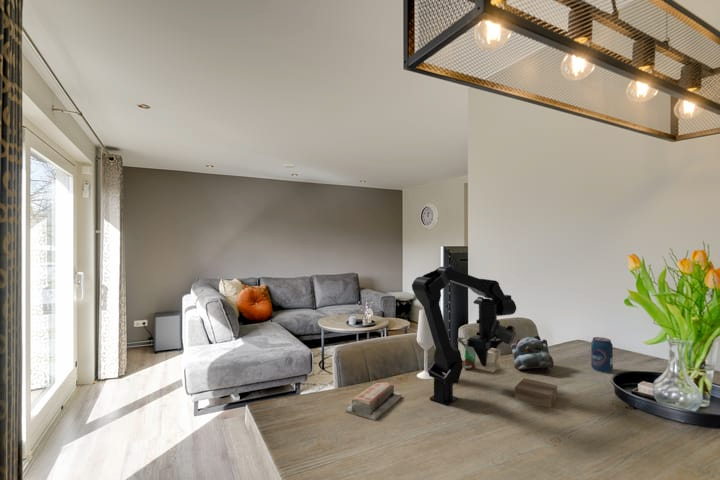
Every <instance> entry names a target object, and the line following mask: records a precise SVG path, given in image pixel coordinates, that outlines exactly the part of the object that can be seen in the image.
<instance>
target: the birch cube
mask: <svg viewBox="0 0 720 480" xmlns="http://www.w3.org/2000/svg"><path fill="white" fill-rule="evenodd" d="M500 368H501V349H499V348H497V349H495V348H491V349H490V350H489V351H488V355H487V362H486V366H485V367H484V366H482V364H481V362H480V360H479V358H478V356H477V354H476V352H475V369H478V370H481V371H485V372H486V371H487V372H490V373H494V372H496V371H498V370H499V369H500Z"/></svg>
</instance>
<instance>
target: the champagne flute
mask: <svg viewBox="0 0 720 480" xmlns="http://www.w3.org/2000/svg"><path fill="white" fill-rule="evenodd" d="M418 312H419V313H418V321H417V332H416V343H418V345H419V347H421V349H423V350H424V351H423V352H424V354H423V355H424V358H423V359H424V362H423V365H424V367H423V368H424V370H423V371H420V372H419V373H418V374H416V377H417V378H418V379H421V380H434V378H433V377H430V376H429V373H428V370H429V368H428V365H429V364H428V357H429V356H428V353H429V352H428V350H430V349H431V348H432V347H433V346H435V344H434V341H433V338H432V334H431V331H430V327H429V324H428V321H427V317H426V314H425V311H424V309H419V311H418Z"/></svg>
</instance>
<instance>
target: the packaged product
mask: <svg viewBox="0 0 720 480" xmlns="http://www.w3.org/2000/svg"><path fill="white" fill-rule="evenodd" d="M394 389H395V385H394V384H392V383H390V382H387V381H386V382H376V383H374V384H372V385H371V386H370V387H368V388H367V389H365V390H364V391H362V392H360V393H359V394H358V395H356V396H355V397H353V398H352V399H351V405H349V406H348V407H347V408H346V409H345V410H344V411H345V413H347V414H352V415H354V416H357V417H358V416H359V417H362V418H365V419H370V420H373V421H375V420H377V419H378V418H380V416H382V415H383V414H385V412H387V410H389V409H390V408H391V407H392V406H394V405H395V404H396V403H397V402H398V401H399V400H400V399H401V398H402V395H403V394H402V393H401V392H396V391H395V390H394Z"/></svg>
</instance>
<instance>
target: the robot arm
mask: <svg viewBox="0 0 720 480" xmlns="http://www.w3.org/2000/svg"><path fill="white" fill-rule="evenodd" d="M449 282H451V283H453V284H456V285H459V286H462V287H465V288H468V289H470V290H471V292H473V293H475V295H478V296H477V298H476V299H474V301H473V304H474V305H478V319H476V324H478V331H476V335H472V336H470V337H469V339H468V340H467V346H469V347H473V349H474V350H475V352H476V354H477V356H478V358H479V360H480V362H481V364H482V366H484V367H485V366H486V362H487V355H488V351H489V350H490V349H491V348H495V349H499V346H501V344H503V343H504V344H506V345H509V344H511V343H513V341H514V339H515V337H516V336H517V334H516V329H515V326H513V325H507V326H502V325H501V321H500V320H499V319H498V317H504V316H510V315H514V314H515V313H516V311H517V305H516V302H515V301H514V300H513V299H512V295H510V294H505V293H504V291H503V289H502V288H501V286H500V282H499V281H497V280H494V279H485V278H480V277H479V278H478V277H475V276H473V275H470V274H468V273H464V272H462V271H459V270H456V269H455V268H454V269H453V267H449V266H439V267H438V268H436V269H435V270H431V271H429V272H427V273H426V274H423V275H422V276H417V277H416V278H415V279H414V280H413V282H412V283H411V289H412V291H413V294H414V296H415V298H416V299H417V300H418V302H419V303H420V305H422V307H423V310H424V311H425V314H426V317H427V321H428V324H429V327H430V331H431V334H432V338H433V341H434V347H435V350H434V353H433V359H434V361H433V363H432V364H431V366H430V367H429V368H428V373H429V376H430V377H433V395H432V396H430V397H429V400H430V401H433V402H437V403H438V404H439V403H440V404H443V405H445V406H450V405H451V404H453V403H454V402H455V401H456V400H458V397H457V396H454V384H458V383H459V381H460V377H461V373H462V370H463V365H462V362H463V360H462V358H461V353H460V350H458V348H455V347H453V346H452V344H451V341H450V338H449V334H448V333H449V332H448V330H447V327H446V322H445V321H444V317H443V312H442V310H441V306H440V301H441V297H442V292H441V290H443V289H444V288H446V286H447V285H448V284H449Z"/></svg>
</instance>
